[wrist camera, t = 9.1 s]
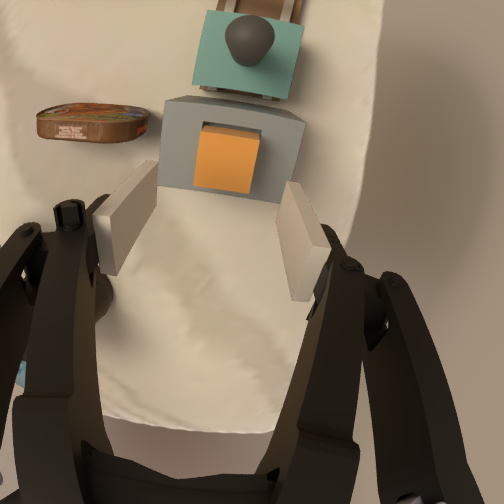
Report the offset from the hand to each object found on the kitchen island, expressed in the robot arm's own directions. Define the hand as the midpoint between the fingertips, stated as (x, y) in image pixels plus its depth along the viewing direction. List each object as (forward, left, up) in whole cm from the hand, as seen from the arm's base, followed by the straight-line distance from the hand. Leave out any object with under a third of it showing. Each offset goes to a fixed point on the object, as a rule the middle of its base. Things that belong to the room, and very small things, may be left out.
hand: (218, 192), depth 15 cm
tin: (-17, +1, -19) cm, 26 cm away
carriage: (0, +10, -16) cm, 19 cm away
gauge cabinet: (0, 0, -19) cm, 19 cm away
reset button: (0, 0, -9) cm, 9 cm away
